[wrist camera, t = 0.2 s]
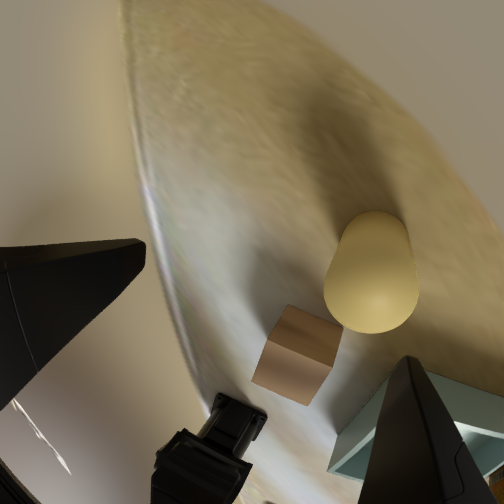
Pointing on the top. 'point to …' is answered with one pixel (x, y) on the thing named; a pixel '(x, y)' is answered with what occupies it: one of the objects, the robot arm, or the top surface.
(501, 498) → the condiment
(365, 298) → the yellow teardrop shape
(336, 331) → the walnut cube
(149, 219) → the top surface
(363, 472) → the tote
